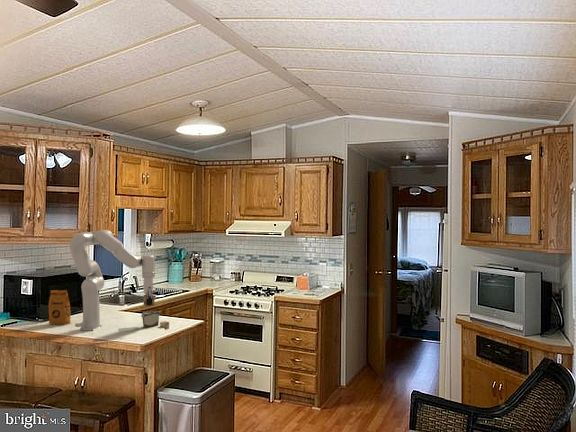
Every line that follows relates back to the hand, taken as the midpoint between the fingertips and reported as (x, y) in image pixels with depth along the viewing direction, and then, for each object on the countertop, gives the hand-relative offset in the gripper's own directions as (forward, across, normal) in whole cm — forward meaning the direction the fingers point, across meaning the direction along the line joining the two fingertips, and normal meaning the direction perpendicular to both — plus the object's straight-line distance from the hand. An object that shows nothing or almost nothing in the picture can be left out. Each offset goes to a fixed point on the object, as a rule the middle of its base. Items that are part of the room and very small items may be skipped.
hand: (148, 303), depth 294 cm
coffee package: (+15, -36, -52) cm, 65 cm away
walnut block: (+1, 0, 0) cm, 1 cm away
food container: (+15, 0, 0) cm, 15 cm away
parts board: (+15, +4, -12) cm, 20 cm away
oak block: (+15, +5, +9) cm, 18 cm away
